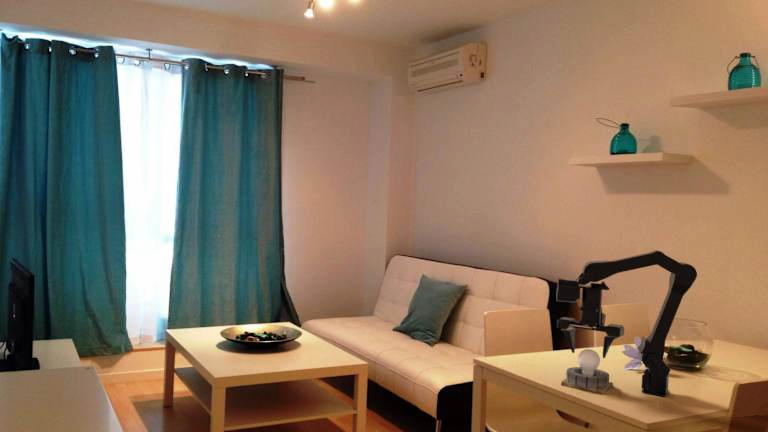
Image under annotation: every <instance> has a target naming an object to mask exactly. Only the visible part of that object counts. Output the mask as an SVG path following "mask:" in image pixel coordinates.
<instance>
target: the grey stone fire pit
mask: <svg viewBox="0 0 768 432" xmlns="http://www.w3.org/2000/svg"><path fill="white" fill-rule="evenodd" d="M560 385H561V386H563V387H568V388H572V389H574V388H575V389H579V390H583V391H584V390H585V391H589V392H593V393H599V394H604V393H606V392H607V391H608V390H610V389H611V388H612V387H613V386H614V383H613V382H612V381H610V374H609V372H607V371H604V370H601V369H598V368H597V369H596V370H595V372H594V375H593V376H586V375H583V373H582V369H581V367H580V366H579V367H578V366H574V367H573V366H572V367H569V368H567V369H566V376H565V379H563V380H562V381H561V382H560Z"/></svg>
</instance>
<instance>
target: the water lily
mask: <svg viewBox="0 0 768 432" xmlns="http://www.w3.org/2000/svg"><path fill="white" fill-rule="evenodd" d="M634 344H635V346H632V345H631V344H624V345H623V348H624V350H622V352H621V353H622V354H623V355H624V356H625V357H628V358H630V359H631V360H630V361H629V362H627V363H626V364H625V366H624V368H623V370H636V369H638V368H640V367H641V366H642V365H644V364H643V362H642V361H641V359H640V358H639V355H638V352H639V350H638V349H637V348H638V347H639V345H640V344H641V338H640V337H639V336H634ZM664 358H665V356H663V359H664ZM644 368H645V369H647V368H646V366H645V365H644Z"/></svg>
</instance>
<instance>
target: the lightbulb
mask: <svg viewBox="0 0 768 432" xmlns="http://www.w3.org/2000/svg"><path fill="white" fill-rule="evenodd" d="M600 362H601V358H600V355H599V353H598V352H597V351H595V350H593V349H591V348H585V349H582V350H581V351H580V352H579V354H578V355H577V363H578V365H579V367H581V369H582V373H583V375H586V376H593V375H594V372H595V370H596V369H598V367H599V365H600Z"/></svg>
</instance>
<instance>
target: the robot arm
mask: <svg viewBox="0 0 768 432" xmlns="http://www.w3.org/2000/svg"><path fill="white" fill-rule="evenodd" d="M655 265H656V266H659V267H660V268H663V270H666V271H668V272H669V280H668V290H667V293H666V294H665V295H666V296H665V299H664V300H663V303H662V305H661V308H660V311H659V313H658V315H657V318H656V320H655V323H654V326H653V327H652V329H651V330H652V331H651V333H650V334H649V335H648V336H647V338H646V337H644V336H642V337H641V338H640V340H641V344H640V345H639V347H638V348H636V349H638V350H639V352H638V355H639V358H640V359H641V361H642V362H643V364H642V365H644V367H645V366H646V368H645V370H643V371H644V373H643V374H642V375H641V393H645V394H650V395H655V396H660V397H666V396H667V395H668V394H669V393H670V389H669V379H670V377H669V376H670V372H671V368H670V367H669V366H668V365H667V363H666V362H665V361H664V358H663V356H664V355H665V349H666V339H667V337H668V335H669V332H670V330H671V327H672V324H673V322H674V319H675V317H676V315H677V313H678V310H679V307H680V306H681V305H680V304H681V303H682V300H683V298H684V296H685V294H686V293H687V292H688V291H689V290H690V288H691V287H692V285H693V284H694V283H695V281H696V279H697V277H698V271H697V269H696V268H695V267H694V266H693V265H691V264H690V263H687V262H684V261H683V262H679V261H677V260H675V259H674V258H672V257H670V256H669V255H666V254H665V253H664V252H663V251H660V250H652V251H650V252H645V253H641V254H635V255H632V256H627V257H624V258H623V257H622V258H618V259H614V260H591V261H588V262H586V263H585V264H584V265H583V266H582V272H581V273H580V274H579V275H578V276H577V277H576V279H575V280H574V279H564V278H561V277H560V278H558V279H557V287H556V297H555V298H556V302H564V303H565V302H567V303H576V301H578V300H580V299H581V304H580V307H579V310H580V320H579V321H576V319H575V318H574V317H567V316H563V317H560V318H559V319H557V321H556V328H557V329H560V332H563V334H564V335H565V338H566V340H567V342H568V345H569V347H570V351H571V353H572V354H574V353H575V351H576V331H577V329H583V330H588V331H595V332H602V333H605V334H606V335H604V336H603V348H602V358H603V359H605V358H606V357H607V354H608V352H609V350H610V347H611V345H612V343H613V342H614V340H616V339H618V338H621V337H622V336H624V335H625V327H624V325H622V324H617V323H616V324H614V323H609V324H607V325H605V323H606V317H607V316H606V314H605V312H603V306H602V301H603V300H602V298H603V291H609V290H610V287H608V286H607V284H606V283H605V281H604V280H605V279H607V278H610V277H611V276H614V275H616V274H619V273H624V272H629V271H633V270H638V269H643V268H646V267H652V266H655ZM600 281H601V282H600ZM598 282H600V283H598ZM588 284H589V285H588ZM664 357H665V356H664Z"/></svg>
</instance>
